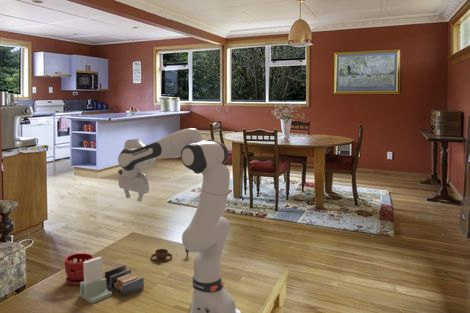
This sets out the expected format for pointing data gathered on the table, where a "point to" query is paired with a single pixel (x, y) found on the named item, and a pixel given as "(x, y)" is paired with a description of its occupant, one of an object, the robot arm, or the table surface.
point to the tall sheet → (92, 271)
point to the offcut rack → (126, 288)
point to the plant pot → (76, 267)
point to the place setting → (163, 255)
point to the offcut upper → (126, 279)
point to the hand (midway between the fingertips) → (133, 199)
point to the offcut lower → (118, 286)
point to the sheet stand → (95, 291)
